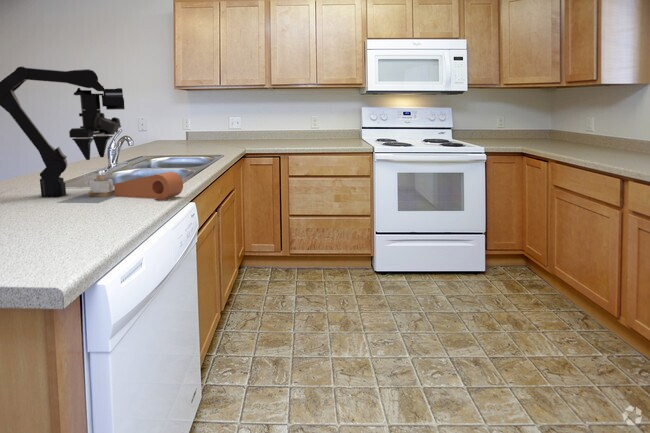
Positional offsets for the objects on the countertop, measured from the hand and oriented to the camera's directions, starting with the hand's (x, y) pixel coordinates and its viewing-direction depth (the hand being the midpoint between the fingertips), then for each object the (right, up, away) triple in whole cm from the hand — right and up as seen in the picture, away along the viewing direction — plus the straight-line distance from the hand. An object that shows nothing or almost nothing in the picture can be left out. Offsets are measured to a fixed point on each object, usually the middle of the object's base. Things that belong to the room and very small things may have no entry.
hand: (95, 158), depth 187 cm
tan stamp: (+3, -12, -3) cm, 13 cm away
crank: (+19, -13, -4) cm, 23 cm away
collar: (+3, -11, -3) cm, 12 cm away
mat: (+2, -14, -8) cm, 16 cm away
